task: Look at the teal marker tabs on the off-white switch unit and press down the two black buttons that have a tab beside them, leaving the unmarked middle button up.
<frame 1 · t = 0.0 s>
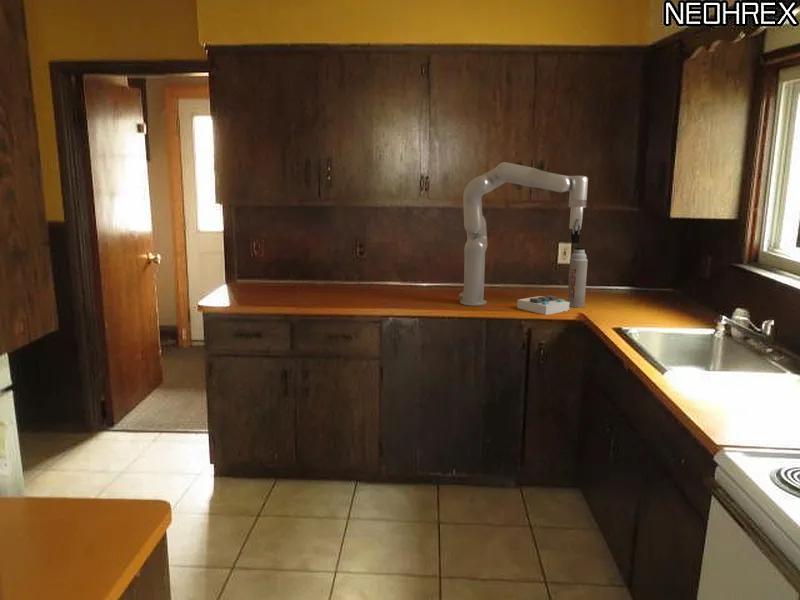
hand: (575, 241, 298), 31 cm above the worktop, tool pointing down, fingers open, 9 cm apart
switch unit: (543, 309, 304), on the worktop
button b: (543, 301, 303), point 4 cm above the worktop, slide at 0.0 cm
button a: (535, 302, 300), point 4 cm above the worktop, slide at 0.0 cm
thermos bottle: (575, 306, 312), on the worktop
button c: (550, 300, 306), point 4 cm above the worktop, slide at 0.0 cm
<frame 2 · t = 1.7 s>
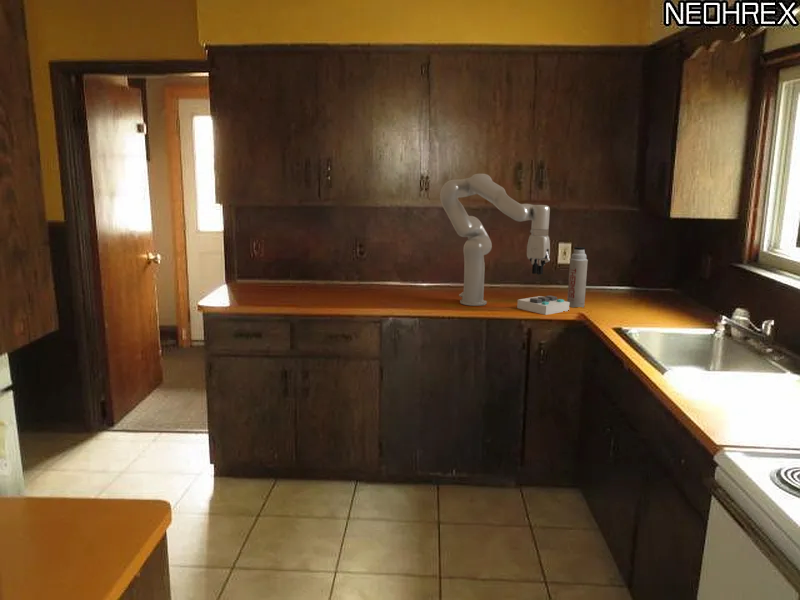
hand: (537, 273, 297), 17 cm above the worktop, tool pointing down, fingers closed
nothing on the worktop moved.
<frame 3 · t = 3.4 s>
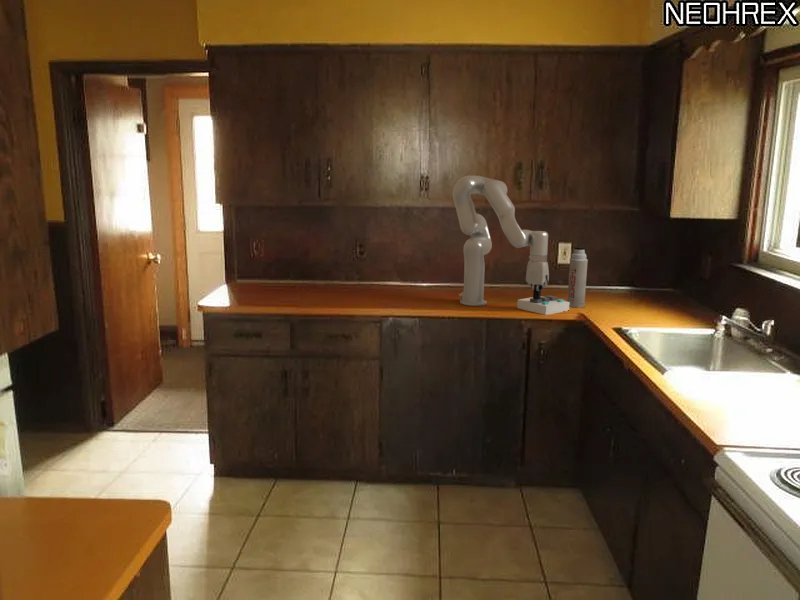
hand: (536, 298, 299), 6 cm above the worktop, tool pointing down, fingers closed
button a: (535, 302, 300), point 4 cm above the worktop, slide at 0.0 cm, touching gripper
everything else where it was.
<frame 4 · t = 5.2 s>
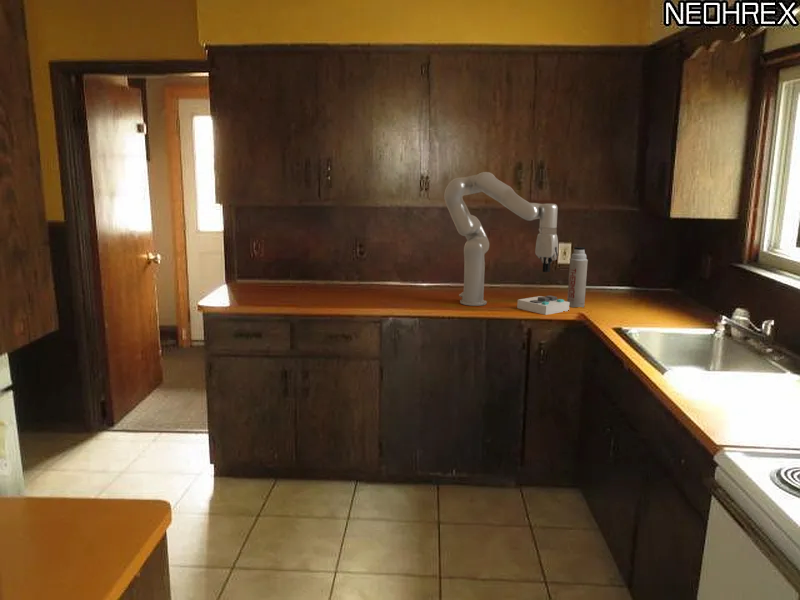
hand: (546, 271, 300), 18 cm above the worktop, tool pointing down, fingers closed
button a: (535, 304, 300), point 3 cm above the worktop, slide at 1.0 cm
everything else where it was.
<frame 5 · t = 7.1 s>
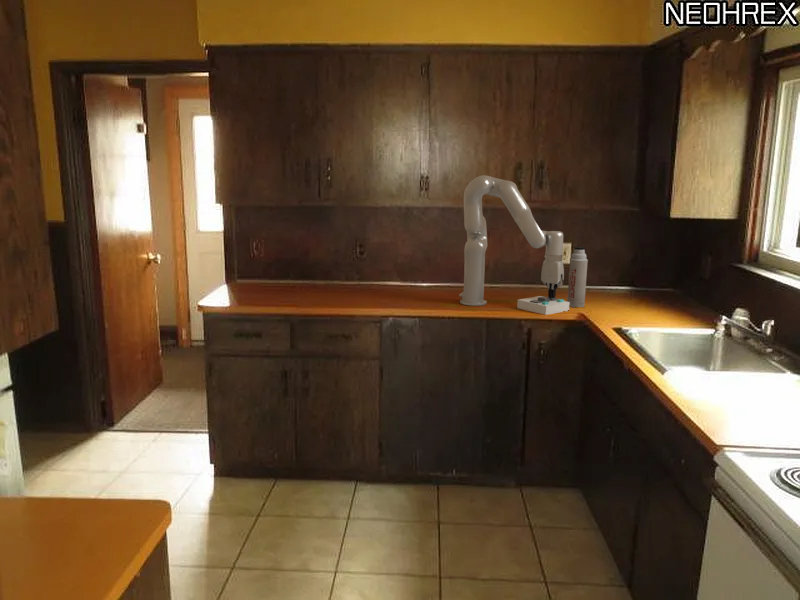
hand: (551, 297, 306), 5 cm above the worktop, tool pointing down, fingers closed
button c: (550, 301, 306), point 3 cm above the worktop, slide at 0.6 cm, touching gripper
everything else where it was.
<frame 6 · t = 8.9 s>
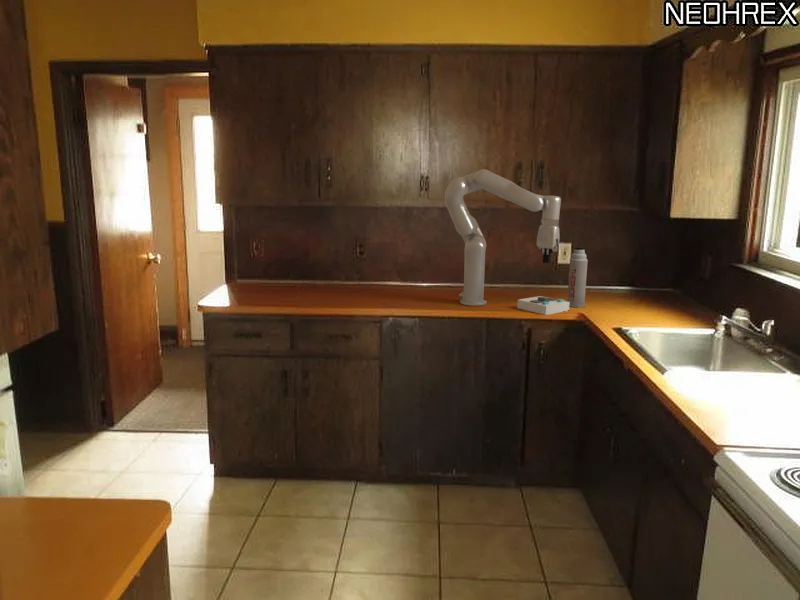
hand: (546, 262, 305), 21 cm above the worktop, tool pointing down, fingers closed
button c: (550, 302, 306), point 3 cm above the worktop, slide at 1.0 cm
everything else where it was.
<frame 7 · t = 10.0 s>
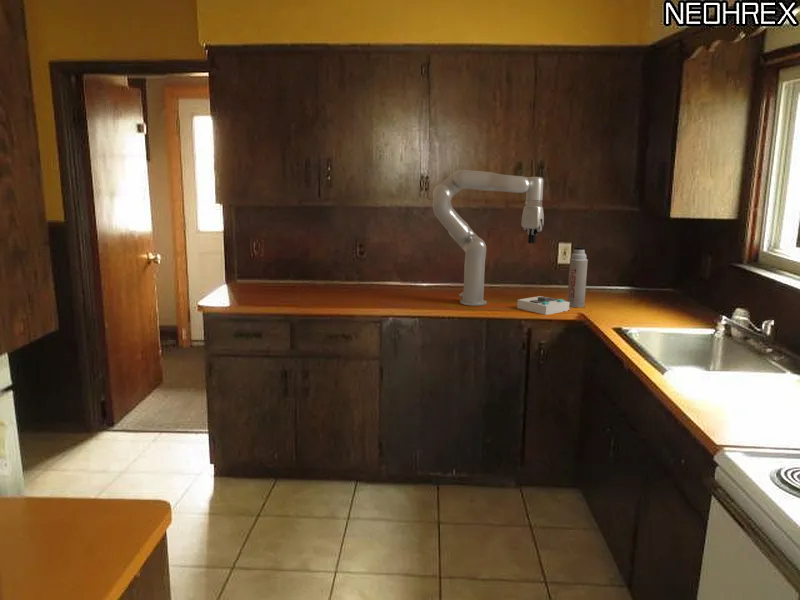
hand: (531, 243, 310), 29 cm above the worktop, tool pointing down, fingers closed
nothing on the worktop moved.
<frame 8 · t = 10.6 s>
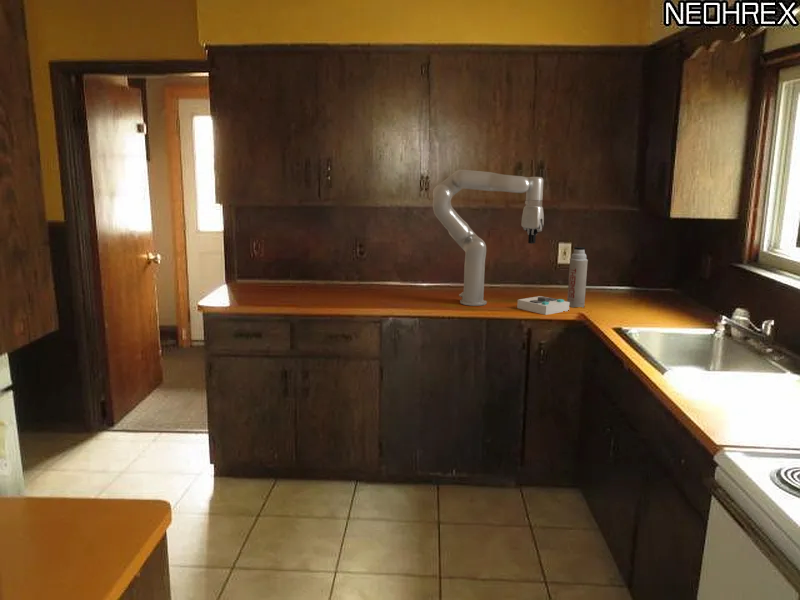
hand: (531, 243, 310), 29 cm above the worktop, tool pointing down, fingers closed
nothing on the worktop moved.
at the end: button a slide at 1.0 cm; button b slide at 0.0 cm; button c slide at 1.0 cm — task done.
